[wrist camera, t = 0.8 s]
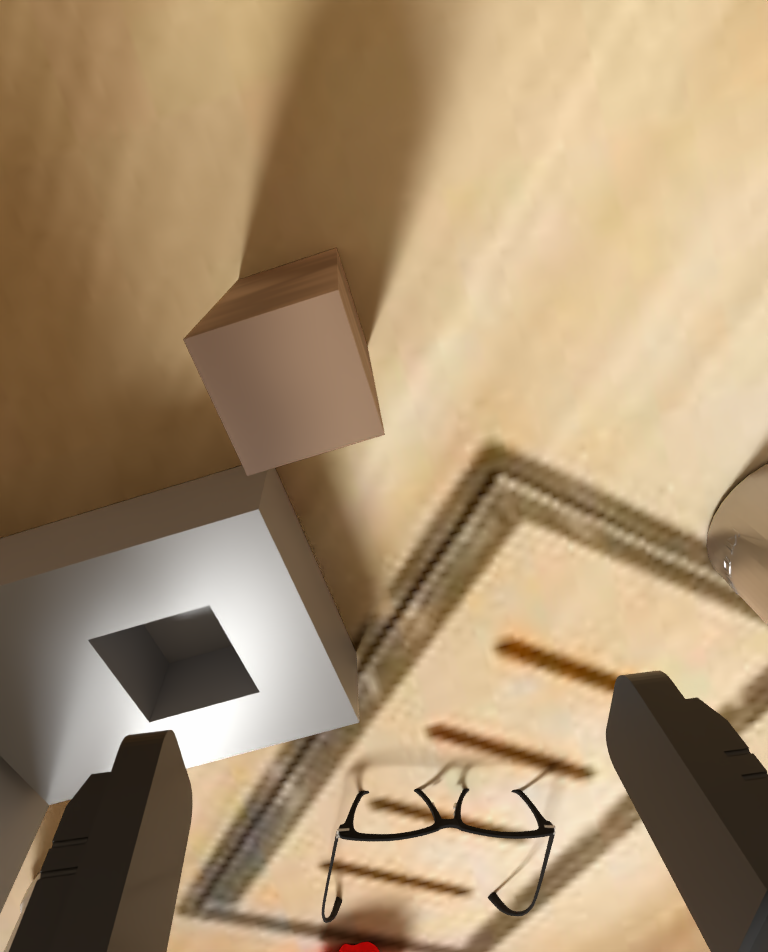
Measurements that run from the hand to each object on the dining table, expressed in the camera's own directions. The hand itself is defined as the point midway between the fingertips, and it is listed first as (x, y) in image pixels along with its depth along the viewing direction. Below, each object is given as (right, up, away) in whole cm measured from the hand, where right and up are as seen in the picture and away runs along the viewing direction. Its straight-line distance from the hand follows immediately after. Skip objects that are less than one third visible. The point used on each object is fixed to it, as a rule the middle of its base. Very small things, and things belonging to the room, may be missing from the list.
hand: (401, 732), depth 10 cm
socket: (-13, -3, +22) cm, 25 cm away
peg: (-4, +12, +15) cm, 19 cm away
